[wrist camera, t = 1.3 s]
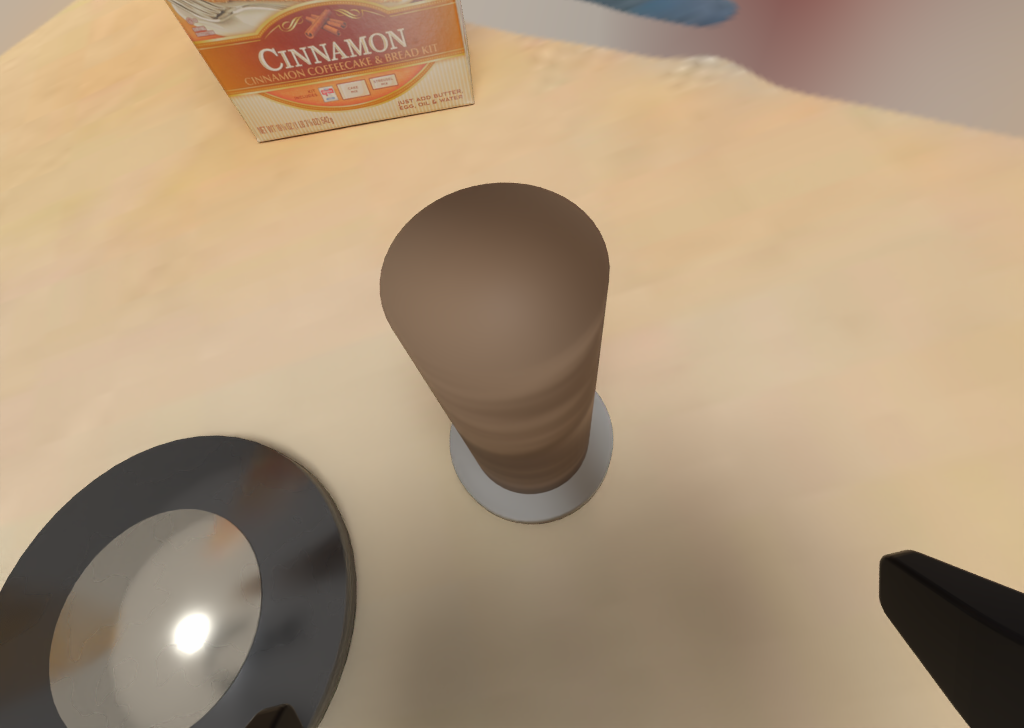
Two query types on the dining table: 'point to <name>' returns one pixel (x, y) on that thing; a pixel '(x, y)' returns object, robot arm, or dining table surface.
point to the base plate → (181, 596)
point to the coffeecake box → (331, 59)
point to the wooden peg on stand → (509, 341)
